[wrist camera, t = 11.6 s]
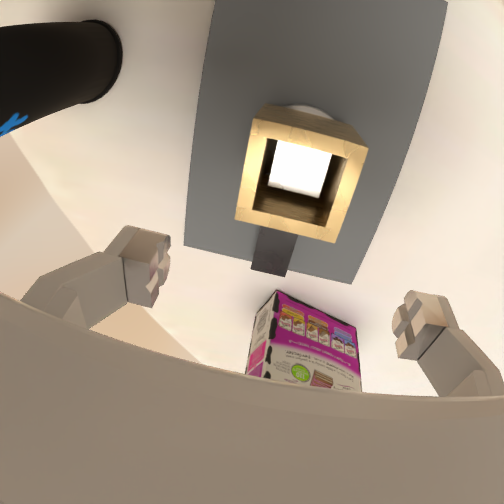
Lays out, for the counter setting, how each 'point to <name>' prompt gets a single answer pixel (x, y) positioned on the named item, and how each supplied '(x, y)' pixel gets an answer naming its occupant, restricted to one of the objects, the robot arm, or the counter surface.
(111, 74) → the aerosol can
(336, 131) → the brass square frame
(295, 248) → the mat
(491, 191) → the counter surface
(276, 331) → the candy bar box
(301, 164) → the ratchet
